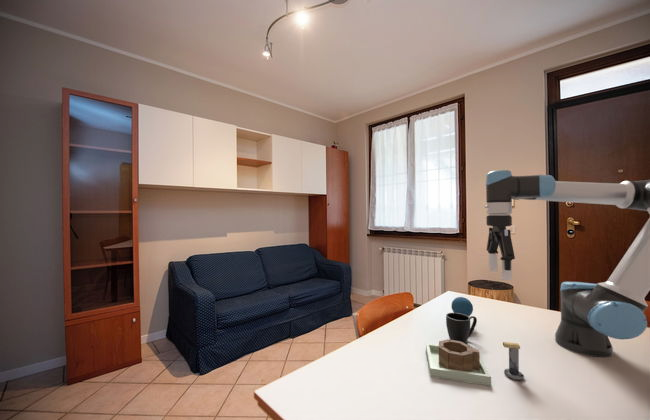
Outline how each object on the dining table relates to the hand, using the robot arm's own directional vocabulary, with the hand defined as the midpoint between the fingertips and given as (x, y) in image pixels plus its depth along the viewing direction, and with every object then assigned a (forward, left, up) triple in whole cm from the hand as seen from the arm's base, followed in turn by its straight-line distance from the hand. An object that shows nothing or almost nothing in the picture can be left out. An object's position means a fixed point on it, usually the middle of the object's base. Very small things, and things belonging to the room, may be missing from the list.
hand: (499, 275), depth 96 cm
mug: (+11, -5, -27) cm, 29 cm away
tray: (+17, +14, -27) cm, 35 cm away
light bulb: (+8, -21, -27) cm, 35 cm away
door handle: (+1, +15, -27) cm, 31 cm away
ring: (+17, +14, -26) cm, 34 cm away
